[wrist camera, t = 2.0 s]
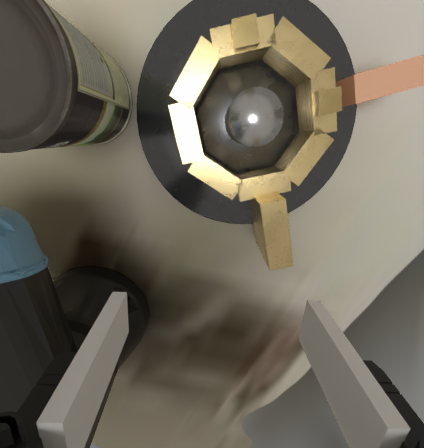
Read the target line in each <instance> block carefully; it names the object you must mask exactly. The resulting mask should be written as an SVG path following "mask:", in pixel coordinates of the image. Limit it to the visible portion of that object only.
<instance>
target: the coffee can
mask: <svg viewBox="0 0 424 448" xmlns="http://www.w3.org/2000/svg"><path fill="white" fill-rule="evenodd" d="M131 111H132V94H131V89H130V86H129V83H128V80H127V78H126V76H125V74H124V72H123V70H122V69H121V68H120V66H119V65H118V64H117V63H116V61H115V60H114V59H113V58H111V57H110V56H109V55H108V54H107V53H105V52H104V51H102V50H101V49H100V48H99V47H97V46H96V45H95V44H94V43H93V42H91V41H90V40H89V39H88V38H87V37H86V36H85V35H83V34H82V33H81V32H80V31H79V30H78V29H76V28H75V27H74V26H73V25H72V24H71V23H69V22H68V21H67V20H66V19H65V18H64V17H62V16H61V15H60V14H59V13H58V12H57V11H55V10H54V9H53V8H52V7H51V6H50V5H48V4H47V3H46V2H45V1H44V0H0V153H12V152H21V151H27V150H31V149H40V148H54V147H65V146H77V145H99V144H104V143H107V142H109V141H111V140H113V139H115V138H116V137H118V136H119V135H120V134H121V133H122V132H123V130H124V129H125V127H126V126H127V124H128V121H129V119H130V116H131Z"/></svg>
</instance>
